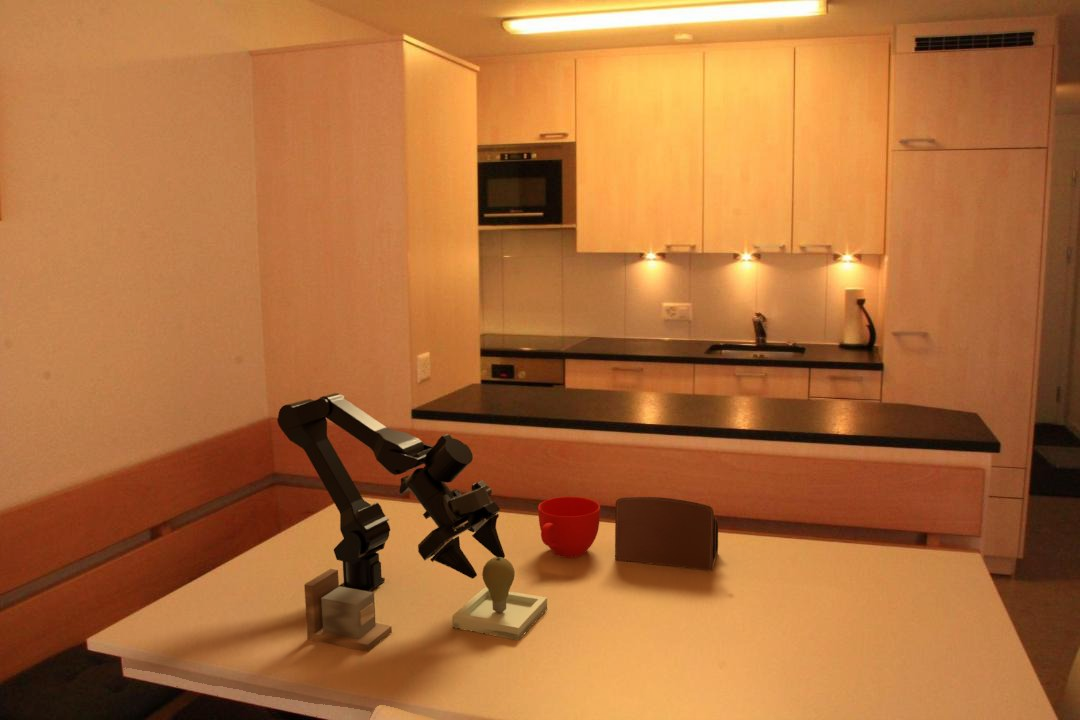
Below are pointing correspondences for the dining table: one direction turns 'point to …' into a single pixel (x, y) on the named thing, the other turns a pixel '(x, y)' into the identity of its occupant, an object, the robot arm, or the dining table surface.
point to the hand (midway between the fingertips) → (489, 567)
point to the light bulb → (498, 581)
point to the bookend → (341, 614)
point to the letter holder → (666, 532)
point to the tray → (500, 614)
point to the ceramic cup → (569, 525)
